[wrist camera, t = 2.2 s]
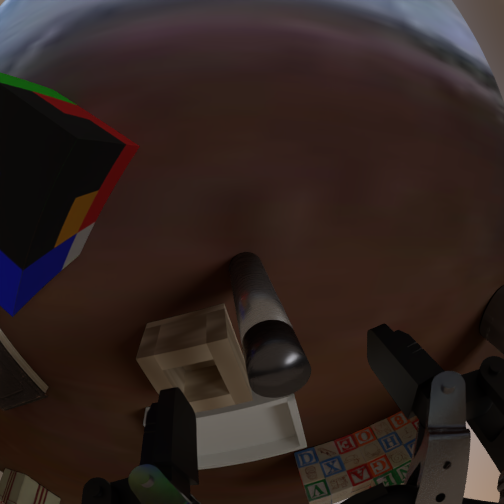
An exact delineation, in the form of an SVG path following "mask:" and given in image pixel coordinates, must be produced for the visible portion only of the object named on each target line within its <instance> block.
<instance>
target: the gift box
mask: <svg viewBox="0 0 504 504" xmlns="http://www.w3.org/2000/svg"><path fill="white" fill-rule="evenodd" d="M59 503H60V498H59V497H57V496H56V495H54V494H53V493H51V492H50V491H48V490H47V489H45V488H44V487H42V486H41V485H40V484H38V483H37V482H35V481H34V480H33V479H31V478H30V477H29V476H27V475H26V474H23V473H20V472H17V471H13V470H10V469H7V468H5V470H4V473H3V476H2V478H1V481H0V504H59Z"/></svg>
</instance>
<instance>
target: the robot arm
mask: <svg viewBox="0 0 504 504" xmlns="http://www.w3.org/2000/svg"><path fill="white" fill-rule="evenodd" d="M480 334H481V335H482V336H483V337H484V338H485V339H486V340H487V341H489V342H490V343H491V344H492V345H493V346H495V347H496V348H497V349H498V350H499V351H500V352H501V353H503V354H504V286H503V287H501V288H500V289H499V290H498V291H497V292H496V294H495V295H494V296H493V298H492V299H491V301H490V303H489V304H488V306H487V308H486V310H485V312H484V315H483V318H482V321H481V325H480ZM367 358H368V362H369V365H370V367H371V368H372V370H373V371H374V373H375V374H376V375H377V377H378V378H379V380H380V381H381V382H382V384H383V385H384V387H385V388H386V390H387V391H388V392H389V394H390V395H391V397H392V398H393V399H394V401H395V402H396V404H397V405H398V407H399V408H400V410H401V411H402V412H403V414H404V415H405V417H406V418H407V420H409V419H410V418H412V417H414V416H417V418H418V419H419V421H418V427H417V433H416V439H415V444H414V449H413V454H412V459H411V462H410V465H409V468H408V471H407V474H406V477H405V481H404V484H400V485H390V486H384V484H383V482H382V483H380V484H378V485H375V486H373V487H371V488H369V489H367V490H364V491H362V492H360V493H357V494H355V495H353V496H351V497H350V498H348V499H347V500H345V501H344V502H342V503H340V504H504V359H502V358H500V357H497V356H492V357H488V358H486V359H485V360H484V361H483V362H482V364H481V366H480V369H478V370H475V371H472V372H469V373H466V374H463V375H460V374H458V373H457V372H453V371H444V370H443V369H442V368H441V367H440V366H439V365H438V364H437V363H436V362H435V361H434V360H433V359H432V358H431V357H430V356H429V355H428V353H427V352H426V351H425V350H424V349H422V347H421V346H420V345H419V344H418V343H416V341H415V340H414V339H413V338H412V337H411V336H410V335H409V334H407V333H404V332H402V331H400V330H397V331H395V332H393V331H392V330H391V329H390V328H389V327H388V326H387V325H386V324H382V325H379V326H377V327H375V328H372V329H370V330H368V333H367ZM466 421H467V423H468V424H469V426H470V427H471V429H472V430H473V431H474V433H475V434H476V436H477V437H478V439H479V440H480V442H481V443H482V445H483V446H484V448H485V449H486V451H487V452H488V454H489V455H490V457H491V459H492V460H493V462H494V463H495V465H496V467H497V468H498V470H499V471H500V473H501V474H500V476H499V480H498V486H497V489H498V491H499V492H500V499H499V502H498V503H495V502H488V501H481V500H474V499H468V498H463V496H464V490H465V484H466V478H467V470H468V462H469V452H470V430H469V429H466V423H465V422H466ZM145 424H146V425H145V429H144V432H145V433H144V436H143V444H142V452H141V461H140V465H139V466H138V467H136V468H135V469H133V470H132V472H131V473H130V475H129V477H128V478H125V479H122V480H118V481H115V482H111V483H109V482H108V481H106V480H105V479H103V478H93V479H90V480H89V481H88V482H87V483H86V484H85V486H84V488H83V495H82V504H201V503H200V502H199V501H198V500H197V499H196V498H195V497H194V496H193V495H192V494H191V493H190V485H199V479H198V458H197V425H196V416H195V412H194V410H193V408H192V406H191V405H190V403H189V402H188V400H187V399H186V397H185V396H184V394H183V392H182V391H181V389H180V388H179V387H174V388H169V389H163V390H160V393H159V400H158V403H152V405H151V407H150V408H149V410H148V412H147V415H146V422H145Z"/></svg>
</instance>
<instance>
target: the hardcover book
mask: <svg viewBox="0 0 504 504" xmlns="http://www.w3.org/2000/svg"><path fill="white" fill-rule="evenodd" d="M47 389H48V386H47V385H46V384H45V383H44V382H43V380H42V379H41V378H40V377H39V376H38V375H37V374H36V373H35V372H34V371H33V369H32V368H31V367H30V366H29V365H28V364H27V363H26V361H25V360H24V359H23V358H22V357H21V355H20V354H19V353H18V352H17V350H16V349H15V348H14V347H13V345H12V344H11V343H10V341H9V340H8V339H7V337H6V336H5V335H4V333H3V332H2V331H1V329H0V408H1V409H2V410H3V411H5V410H9V409H12V408H15V407H19V406H22V405H25V404H28V403H31V402H34V401H37V400H40V399H43V398H46V397H47V395H46V394H45V393H46V390H47Z"/></svg>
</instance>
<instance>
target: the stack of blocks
mask: <svg viewBox="0 0 504 504" xmlns="http://www.w3.org/2000/svg"><path fill="white" fill-rule="evenodd" d="M418 421H419V419H418V418H417V416H414V417H412V418H410V419H409V420H407V418H406V417H405V415H404V414H403V412H402V411H400V412H398V413H396V414H394V415H392V416H390V417H388V418H386V419H384V420H381V421H379V422H377V423H375V424H372V425H370V426H369V427H366V428H364V429H362V430H359V431H357V432H354V433H352V434H350V435H347V436H344V437H342V438H339V439H336V440H334V441H330V442H327V443H325V444H322V445H318V446H315V447H312V448H309V449H305V450H302V451H299V452H295V453H294V455H295V459H296V464H297V467H298V470H299V474H300V478H301V481H302V484H303V487H304V490H305V492H306V495H307V498H308V501H309V504H333V503H336V502H339V501H341V500H344V499H347V498H350V497H351V496H353V495H355V494H357V493H360V492H362V491H364V490H367V489H369V488H371V487H373V486H375V485H378V484H380V483H382V482H383V484H384V486H390V485H400V484H404V481H405V477H406V474H407V471H408V468H409V465H410V462H411V459H412V454H413V449H414V444H415V439H416V433H417V427H418Z"/></svg>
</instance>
